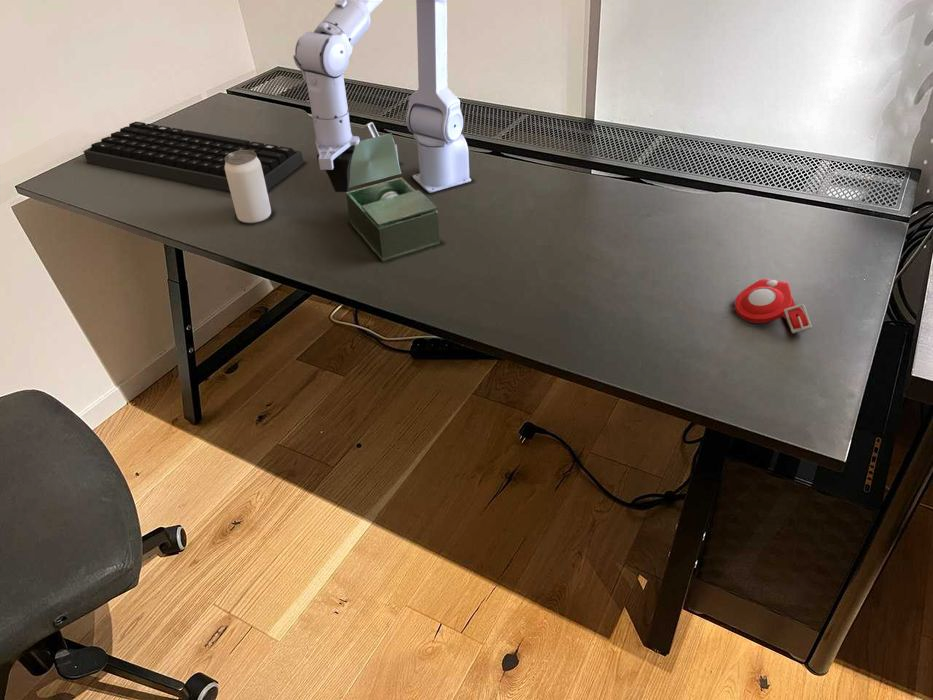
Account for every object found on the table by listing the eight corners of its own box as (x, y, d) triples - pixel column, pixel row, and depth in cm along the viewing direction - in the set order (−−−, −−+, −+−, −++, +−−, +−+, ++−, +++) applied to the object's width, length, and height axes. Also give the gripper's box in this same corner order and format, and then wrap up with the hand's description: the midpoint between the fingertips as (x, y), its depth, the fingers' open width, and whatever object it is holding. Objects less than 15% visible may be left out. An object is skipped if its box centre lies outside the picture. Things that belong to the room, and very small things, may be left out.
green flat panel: (345, 188, 136) (345, 188, 136) (401, 173, 140) (400, 173, 140) (335, 147, 133) (334, 147, 134) (391, 133, 137) (391, 133, 138)
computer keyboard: (303, 163, 161) (300, 146, 159) (258, 197, 150) (254, 179, 148) (139, 133, 176) (134, 117, 174) (87, 162, 165) (81, 146, 163)
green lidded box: (350, 223, 141) (345, 188, 136) (404, 208, 145) (401, 173, 140) (382, 261, 130) (378, 224, 126) (440, 244, 134) (437, 207, 130)
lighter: (399, 163, 159) (395, 127, 154) (394, 167, 158) (390, 130, 153) (372, 156, 162) (367, 120, 157) (367, 159, 161) (362, 123, 156)
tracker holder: (723, 310, 115) (749, 267, 119) (727, 331, 117) (752, 288, 122) (807, 324, 107) (831, 277, 111) (809, 346, 110) (833, 299, 114)
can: (263, 225, 141) (249, 165, 134) (231, 223, 143) (215, 163, 135) (277, 208, 146) (264, 149, 139) (245, 206, 147) (231, 147, 140)
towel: (376, 195, 139) (380, 217, 142) (389, 208, 135) (393, 229, 138) (398, 188, 140) (402, 209, 143) (412, 200, 136) (415, 221, 139)
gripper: (346, 131, 115) (357, 211, 123) (363, 95, 126) (372, 170, 135) (300, 131, 115) (314, 211, 124) (321, 95, 127) (333, 170, 135)
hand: (342, 190), depth 129 cm, fingers closed
